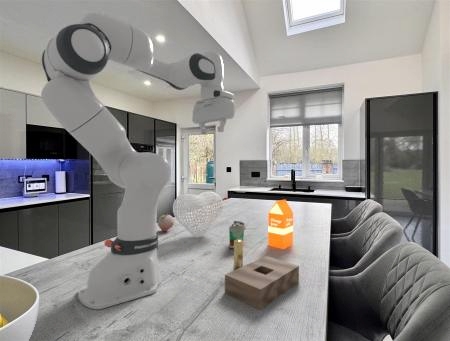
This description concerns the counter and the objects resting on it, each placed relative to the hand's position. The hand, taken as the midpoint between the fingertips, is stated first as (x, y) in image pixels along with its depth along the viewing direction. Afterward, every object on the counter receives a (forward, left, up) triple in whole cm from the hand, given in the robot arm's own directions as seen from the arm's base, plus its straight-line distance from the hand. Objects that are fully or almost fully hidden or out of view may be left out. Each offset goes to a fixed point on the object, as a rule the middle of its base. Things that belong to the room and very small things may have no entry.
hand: (211, 133), depth 96 cm
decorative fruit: (+8, +44, -48) cm, 66 cm away
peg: (-3, -16, -48) cm, 51 cm away
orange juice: (+31, -12, -48) cm, 59 cm away
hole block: (-7, -29, -48) cm, 56 cm away
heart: (+13, +23, -48) cm, 55 cm away
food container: (+16, 0, -48) cm, 51 cm away
